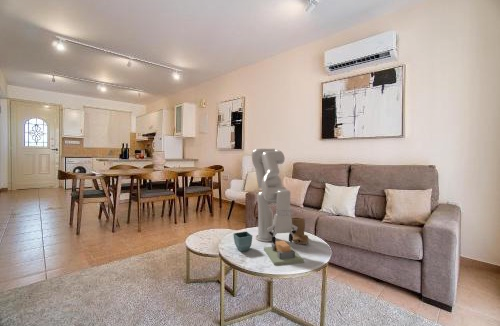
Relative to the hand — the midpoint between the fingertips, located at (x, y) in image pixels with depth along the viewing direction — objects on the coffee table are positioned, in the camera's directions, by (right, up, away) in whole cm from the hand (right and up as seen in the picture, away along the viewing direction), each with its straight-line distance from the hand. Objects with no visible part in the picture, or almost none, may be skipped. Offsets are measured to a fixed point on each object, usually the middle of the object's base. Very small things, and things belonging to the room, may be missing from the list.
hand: (282, 242), depth 139 cm
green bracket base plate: (0, -7, -1) cm, 7 cm away
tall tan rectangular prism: (0, -6, -1) cm, 6 cm away
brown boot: (+14, -6, +23) cm, 27 cm away
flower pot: (-22, -7, +8) cm, 24 cm away
